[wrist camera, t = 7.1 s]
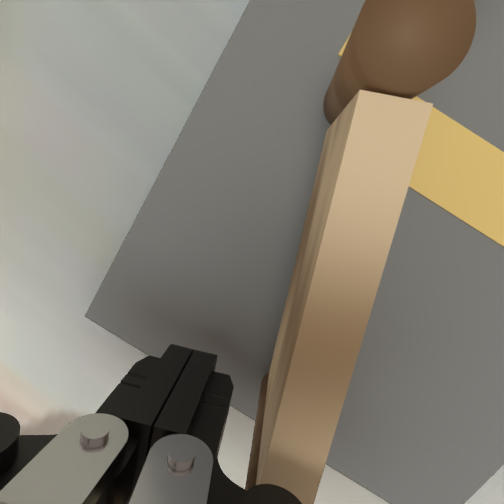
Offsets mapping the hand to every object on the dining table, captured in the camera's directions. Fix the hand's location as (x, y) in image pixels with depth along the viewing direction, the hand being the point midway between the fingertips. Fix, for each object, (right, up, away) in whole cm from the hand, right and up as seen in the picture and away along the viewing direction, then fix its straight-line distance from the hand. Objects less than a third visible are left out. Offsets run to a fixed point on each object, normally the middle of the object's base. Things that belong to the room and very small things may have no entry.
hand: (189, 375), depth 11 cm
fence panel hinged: (+4, +3, +2) cm, 5 cm away
